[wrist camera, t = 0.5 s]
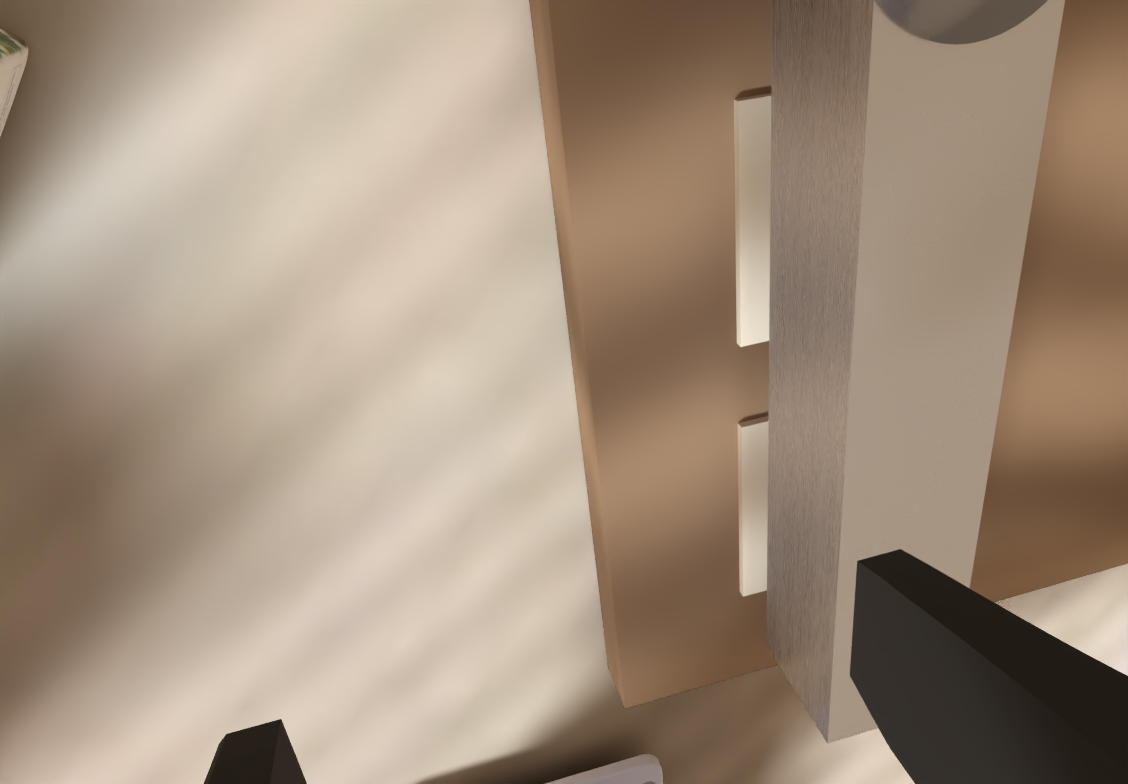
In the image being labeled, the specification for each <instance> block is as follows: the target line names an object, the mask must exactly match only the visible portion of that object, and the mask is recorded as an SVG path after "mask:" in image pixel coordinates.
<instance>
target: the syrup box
mask: <svg viewBox="0 0 1128 784" xmlns="http://www.w3.org/2000/svg"><path fill="white" fill-rule="evenodd" d="M28 52H29V50H28V46H27V45H26V43H25V42H24V41H23V40H21V39H19V38H18V37H16V36H14V35H12V34H10V33H8V32H6V31H4V30H2V29H0V137H1V134H2V131H3V128H4V126H5V123H6V120H7V117H8V114H9V112H10V109H11V106H12V103H13V101H14V98H15V95H16V92H17V89H18V86H19V83H20V80H21V77H22V74H23V72H24V69H25V66H26V63H27V58H28Z"/></svg>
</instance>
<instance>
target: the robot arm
mask: <svg viewBox="0 0 1128 784" xmlns="http://www.w3.org/2000/svg"><path fill="white" fill-rule="evenodd" d="M850 677H851V679H852V681H853V683H854V684H855V686H856V688H857V690H858V692H859V694H860V695H861V697H862V699H863V701H864V703H865V705H866V707H867V708H868V710H869V712H870V714H871V716H872V718H873V719H874V721H875V723H876V724H877V726H878V728H879V730H880V731H881V733H882V735H883V737H884V738H885V740H886V742H887V744H888V745H889V747H890V749H891V750H892V752H893V753H894V754H895V756H896V757H897V759H898V760H899V761H900V763H901V764H902V766H903V767H904V769H905V770H906V771H907V773H908V774H909V776H910V777H911V778H912V780H913V781H914V783H915V784H1128V676H1127V675H1125V674H1123V673H1121V672H1119V671H1117V670H1115V669H1113V668H1111V667H1109V666H1107V665H1106V664H1104V663H1102V662H1100V661H1098V660H1096V659H1094V658H1092V657H1090V656H1088V655H1087V654H1085V653H1083V652H1081V651H1079V650H1077V649H1076V648H1074V647H1072V646H1070V645H1068V644H1066V643H1064V642H1063V641H1061V640H1059V639H1057V638H1055V637H1054V636H1052V635H1050V634H1048V633H1046V632H1045V631H1043V630H1041V629H1039V628H1038V627H1036V626H1034V625H1032V624H1030V623H1029V622H1027V621H1025V620H1023V619H1022V618H1020V617H1018V616H1016V615H1015V614H1013V613H1011V612H1009V611H1008V610H1006V609H1004V608H1002V607H1001V606H999V605H997V604H996V603H994V602H992V601H990V600H989V599H987V598H985V597H984V596H982V595H980V594H978V593H977V592H975V591H973V590H971V589H970V588H968V587H966V586H965V585H963V584H961V583H959V582H958V581H956V580H954V579H953V578H951V577H949V576H947V575H946V574H944V573H942V572H941V571H939V570H937V569H935V568H934V567H932V566H930V565H929V564H927V563H925V562H923V561H921V560H920V559H918V558H916V557H914V556H913V555H911V554H909V553H907V552H905V551H903V550H902V549H898V550H895V551H891V552H888V553H884V554H880V555H877V556H873V557H869V558H866V559H862V560H858V561H857V571H856V586H855V601H854V616H853V631H852V647H851V662H850ZM204 784H307V783H306V780H305V778H304V775H303V773H302V770H301V768H300V765H299V763H298V760H297V758H296V755H295V753H294V750H293V748H292V745H291V743H290V740H289V738H288V735H287V733H286V730H285V728H284V725H283V723H282V720H281V719H280V720H276V721H272V722H269V723H265V724H262V725H258V726H254V727H251V728H247V729H243V730H240V731H236V732H232V733H229V734H226V735H225V737H224V738H223V739H222V741H221V742H220V743H219V746H218V748H217V751H216V754H215V756H214V759H213V761H212V764H211V767H210V769H209V772H208V774H207V777H206V779H205V782H204ZM545 784H663V774H662V768H661V766H660V763H659V761H658V759H657V757H655V756H654V755H650V754H643V755H639V756H635V757H632V758H628V759H625V760H622V761H618V762H615V763H612V764H608V765H605V766H602V767H598V768H595V769H592V770H588V771H585V772H582V773H578V774H575V775H572V776H568V777H565V778H562V779H558V780H555V781H552V782H548V783H545Z"/></svg>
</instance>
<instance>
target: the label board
mask: <svg viewBox="0 0 1128 784" xmlns="http://www.w3.org/2000/svg"><path fill="white" fill-rule="evenodd" d="M529 2H530V10H531V19H532V27H533V36H534V44H535V53H536V61H537V69H538V78H539V86H540V95H541V103H542V112H543V120H544V129H545V137H546V146H547V154H548V162H549V171H550V179H551V188H552V196H553V205H554V213H555V222H556V230H557V239H558V247H559V255H560V264H561V272H562V281H563V289H564V298H565V306H566V315H567V323H568V332H569V340H570V348H571V357H572V365H573V374H574V382H575V391H576V399H577V408H578V416H579V424H580V433H581V441H582V450H583V458H584V467H585V475H586V484H587V492H588V501H589V509H590V517H591V526H592V534H593V543H594V551H595V560H596V568H597V577H598V585H599V594H600V602H601V610H602V619H603V627H604V636H605V644H606V653H607V661H608V668H609V670H610V673H611V675H612V678H613V680H614V683H615V685H616V688H617V690H618V693H619V695H620V698H621V700H622V703H623V705H624V708H625V709H626V708H629V707H633V706H636V705H640V704H643V703H647V702H650V701H654V700H657V699H661V698H664V697H667V696H671V695H674V694H678V693H681V692H685V691H688V690H692V689H695V688H699V687H702V686H705V685H709V684H712V683H716V682H719V681H723V680H726V679H730V678H733V677H737V676H740V675H744V674H747V673H750V672H754V671H757V670H761V669H764V668H768V667H771V666H775V665H778V663H777V662H776V660H775V659H774V657H773V656H772V654H771V652H770V651H769V649H768V648H767V646H766V634H767V523H768V412H769V301H770V190H771V78H772V0H529ZM1127 563H1128V0H1065V4H1064V10H1063V16H1062V22H1061V28H1060V35H1059V41H1058V47H1057V53H1056V59H1055V65H1054V71H1053V78H1052V84H1051V90H1050V96H1049V102H1048V108H1047V115H1046V121H1045V127H1044V133H1043V139H1042V145H1041V151H1040V158H1039V164H1038V170H1037V176H1036V182H1035V188H1034V195H1033V201H1032V207H1031V213H1030V219H1029V225H1028V231H1027V238H1026V244H1025V250H1024V256H1023V262H1022V268H1021V275H1020V281H1019V287H1018V293H1017V299H1016V305H1015V311H1014V318H1013V324H1012V330H1011V336H1010V342H1009V348H1008V355H1007V361H1006V367H1005V373H1004V379H1003V385H1002V391H1001V398H1000V404H999V410H998V416H997V422H996V428H995V435H994V441H993V447H992V453H991V459H990V465H989V471H988V478H987V484H986V490H985V496H984V502H983V508H982V515H981V521H980V527H979V533H978V539H977V545H976V551H975V558H974V564H973V570H972V576H971V582H970V589H971V590H973V591H975V592H977V593H978V594H980V595H982V596H984V597H985V598H987V599H989V600H990V601H992V602H996V601H999V600H1003V599H1006V598H1010V597H1013V596H1017V595H1020V594H1024V593H1027V592H1031V591H1034V590H1037V589H1041V588H1044V587H1048V586H1051V585H1055V584H1058V583H1062V582H1065V581H1069V580H1072V579H1076V578H1079V577H1082V576H1086V575H1089V574H1093V573H1096V572H1100V571H1103V570H1107V569H1110V568H1114V567H1117V566H1120V565H1124V564H1127Z"/></svg>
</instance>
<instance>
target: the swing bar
mask: <svg viewBox="0 0 1128 784" xmlns="http://www.w3.org/2000/svg"><path fill="white" fill-rule="evenodd" d="M1064 4H1065V0H772V78H771V190H770V301H769V412H768V523H767V634H766V646H767V648H768V649H769V651H770V652H771V654H772V656H773V657H774V659H775V660H776V662H777V663H778V665H779V667H780V668H781V670H782V671H783V673H784V675H785V676H786V678H787V679H788V681H789V683H790V684H791V686H792V687H793V689H794V691H795V692H796V694H797V695H798V697H799V699H800V700H801V702H802V703H803V705H804V706H805V708H806V710H807V711H808V713H809V714H810V716H811V718H812V719H813V721H814V722H815V724H816V726H817V727H818V729H819V730H820V732H821V734H822V735H823V737H824V738H825V740H826V742H827V743H831V742H834V741H837V740H840V739H844V738H847V737H850V736H853V735H857V734H860V733H863V732H866V731H869V730H873V729H876V728H878V726H877V724H876V723H875V721H874V719H873V718H872V716H871V714H870V712H869V710H868V708H867V707H866V705H865V703H864V701H863V699H862V697H861V695H860V694H859V692H858V690H857V688H856V686H855V684H854V683H853V681H852V679H851V677H850V662H851V647H852V631H853V616H854V601H855V586H856V571H857V561H858V560H862V559H866V558H869V557H873V556H877V555H880V554H884V553H888V552H891V551H895V550H898V549H902V550H903V551H905V552H907V553H909V554H911V555H913V556H914V557H916V558H918V559H920V560H921V561H923V562H925V563H927V564H929V565H930V566H932V567H934V568H935V569H937V570H939V571H941V572H942V573H944V574H946V575H947V576H949V577H951V578H953V579H954V580H956V581H958V582H959V583H961V584H963V585H965V586H966V587H968V588H970V582H971V576H972V570H973V564H974V558H975V551H976V545H977V539H978V533H979V527H980V521H981V515H982V508H983V502H984V496H985V490H986V484H987V478H988V471H989V465H990V459H991V453H992V447H993V441H994V435H995V428H996V422H997V416H998V410H999V404H1000V398H1001V391H1002V385H1003V379H1004V373H1005V367H1006V361H1007V355H1008V348H1009V342H1010V336H1011V330H1012V324H1013V318H1014V311H1015V305H1016V299H1017V293H1018V287H1019V281H1020V275H1021V268H1022V262H1023V256H1024V250H1025V244H1026V238H1027V231H1028V225H1029V219H1030V213H1031V207H1032V201H1033V195H1034V188H1035V182H1036V176H1037V170H1038V164H1039V158H1040V151H1041V145H1042V139H1043V133H1044V127H1045V121H1046V115H1047V108H1048V102H1049V96H1050V90H1051V84H1052V78H1053V71H1054V65H1055V59H1056V53H1057V47H1058V41H1059V35H1060V28H1061V22H1062V16H1063V10H1064Z"/></svg>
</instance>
